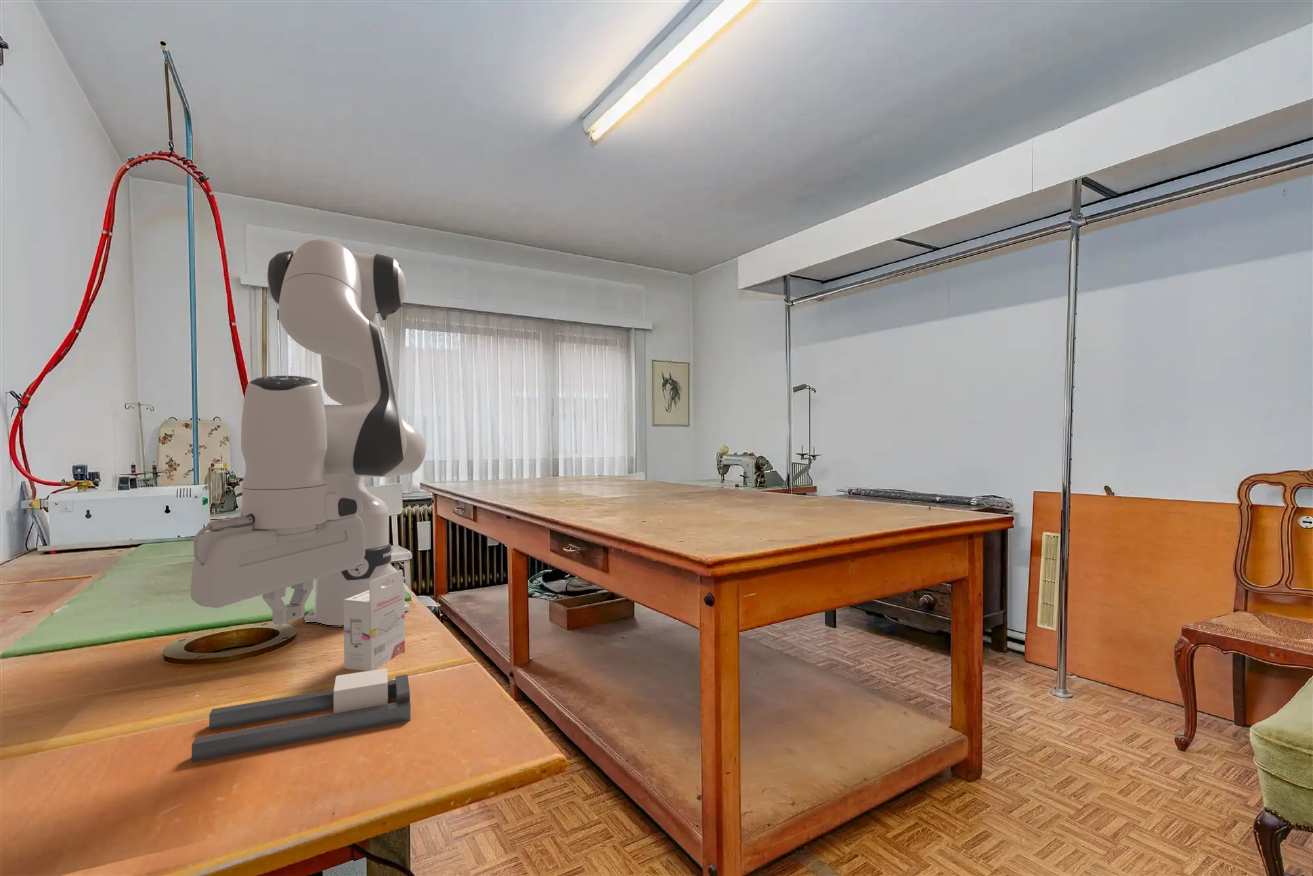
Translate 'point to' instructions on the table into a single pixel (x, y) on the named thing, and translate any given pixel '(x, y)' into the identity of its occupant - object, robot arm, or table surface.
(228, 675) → the table surface
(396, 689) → the chute
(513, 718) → the table surface
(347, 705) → the block
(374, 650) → the ink cartridge box
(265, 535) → the robot arm
